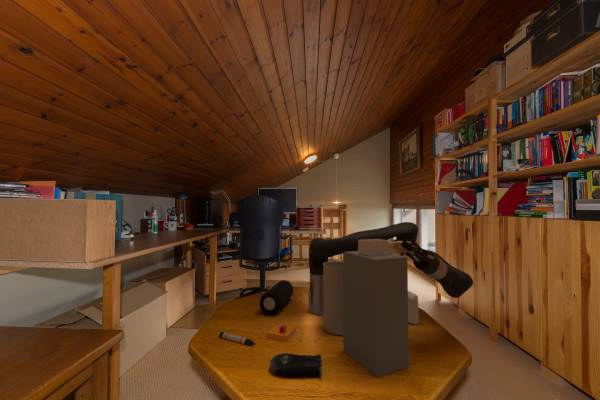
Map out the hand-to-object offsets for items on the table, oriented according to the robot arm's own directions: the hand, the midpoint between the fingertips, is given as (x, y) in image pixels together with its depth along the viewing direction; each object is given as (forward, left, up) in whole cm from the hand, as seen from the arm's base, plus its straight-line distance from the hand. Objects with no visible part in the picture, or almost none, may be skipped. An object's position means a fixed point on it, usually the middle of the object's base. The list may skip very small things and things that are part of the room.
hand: (398, 242), depth 89 cm
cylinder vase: (-21, +11, -36) cm, 43 cm away
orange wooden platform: (-41, 0, -36) cm, 55 cm away
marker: (-54, -9, -36) cm, 66 cm away
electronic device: (-30, -19, -36) cm, 51 cm away
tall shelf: (-8, -7, -35) cm, 37 cm away
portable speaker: (-53, +28, -36) cm, 70 cm away
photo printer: (+5, +27, -36) cm, 45 cm away
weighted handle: (-4, -4, -3) cm, 7 cm away
